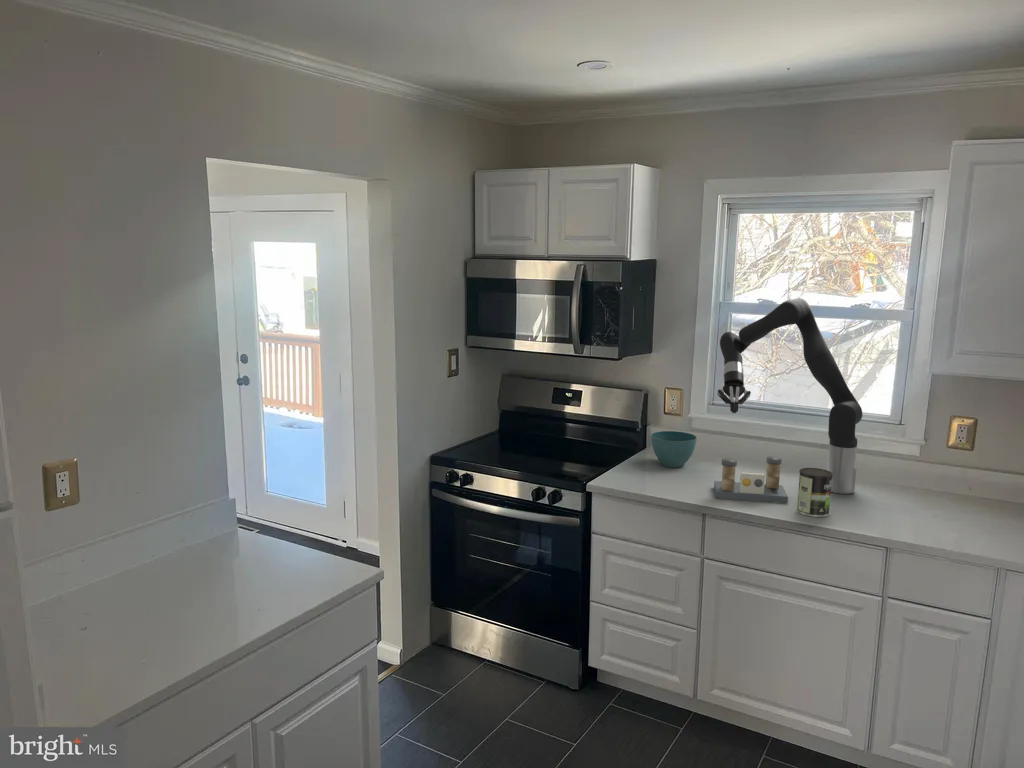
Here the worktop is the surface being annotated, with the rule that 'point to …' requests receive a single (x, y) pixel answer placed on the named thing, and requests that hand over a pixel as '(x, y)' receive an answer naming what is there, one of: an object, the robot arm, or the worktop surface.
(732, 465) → the far knob
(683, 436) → the teal round bowl
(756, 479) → the slider board
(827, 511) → the coffee can
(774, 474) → the near knob
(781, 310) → the robot arm
